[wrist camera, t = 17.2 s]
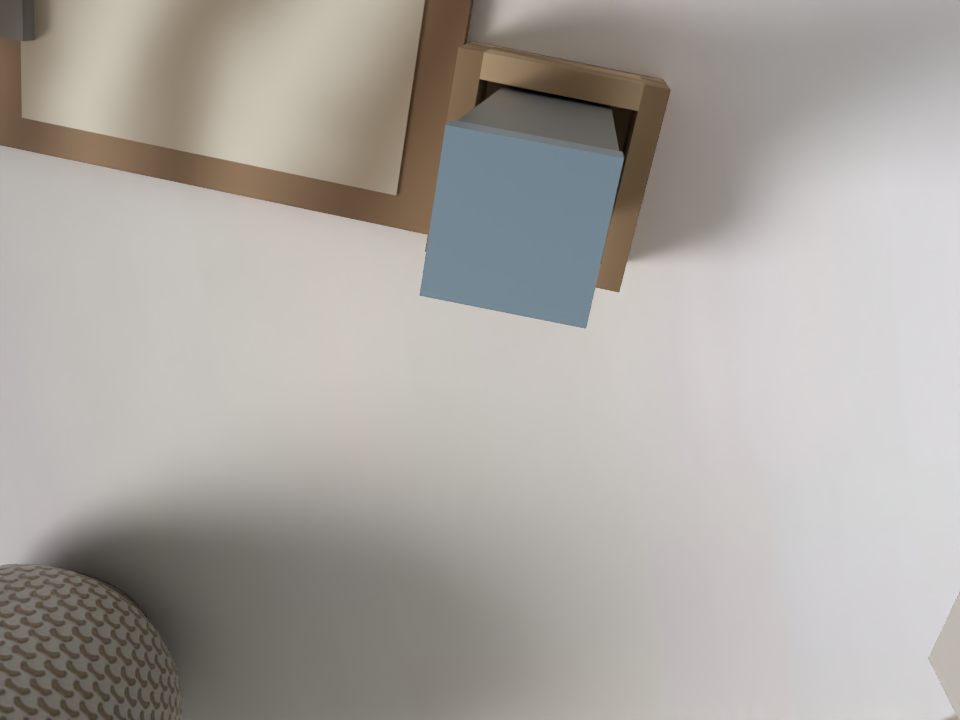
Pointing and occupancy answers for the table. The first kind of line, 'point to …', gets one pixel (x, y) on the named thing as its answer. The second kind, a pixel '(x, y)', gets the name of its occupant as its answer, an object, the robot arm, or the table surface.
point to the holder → (626, 93)
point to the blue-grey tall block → (524, 206)
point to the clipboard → (242, 95)
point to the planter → (79, 651)
